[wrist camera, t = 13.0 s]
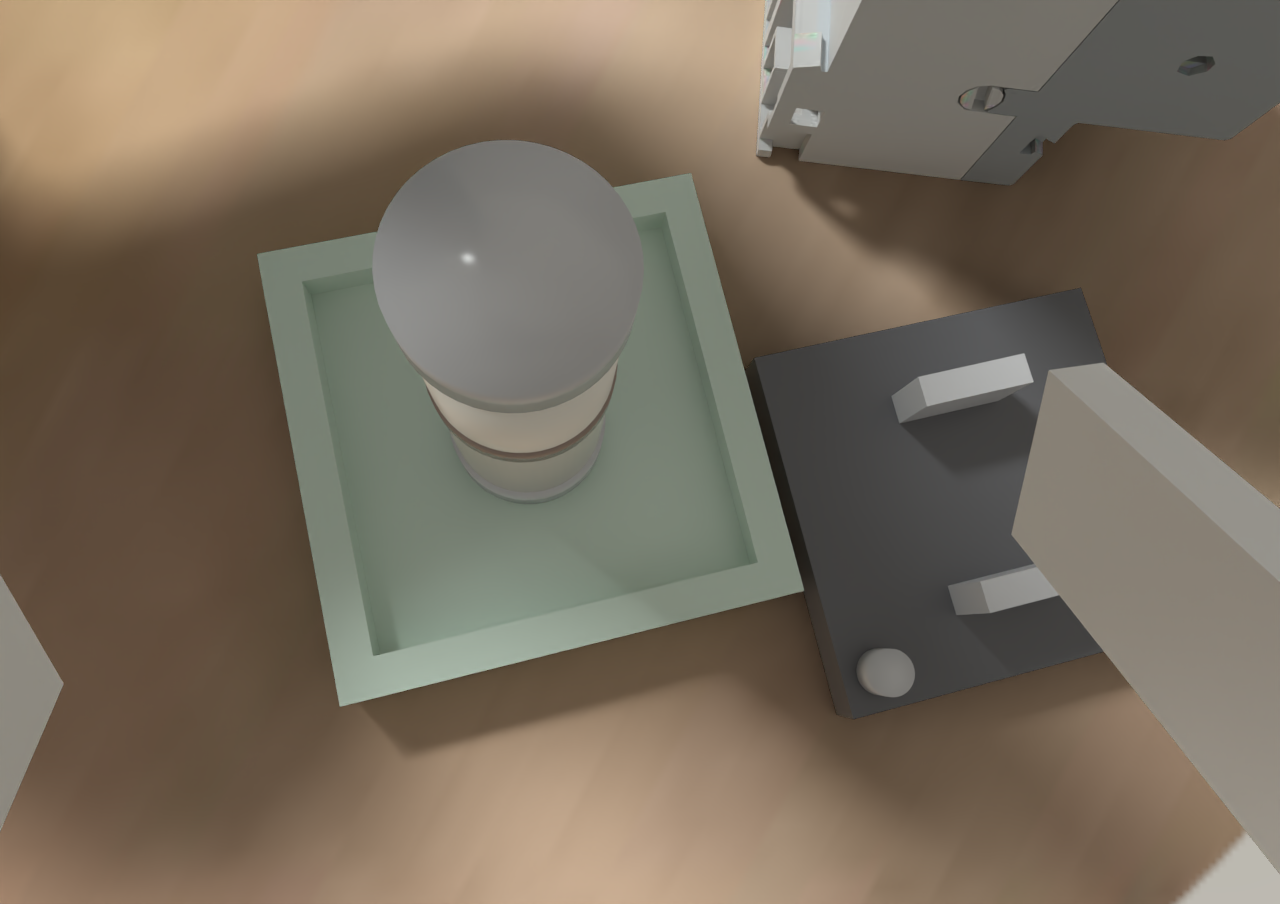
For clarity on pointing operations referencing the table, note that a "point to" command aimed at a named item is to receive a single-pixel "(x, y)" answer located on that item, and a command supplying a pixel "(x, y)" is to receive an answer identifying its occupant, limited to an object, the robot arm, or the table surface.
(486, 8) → the table surface
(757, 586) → the tray
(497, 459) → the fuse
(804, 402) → the block
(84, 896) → the table surface
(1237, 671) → the robot arm
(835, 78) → the circuit breaker
